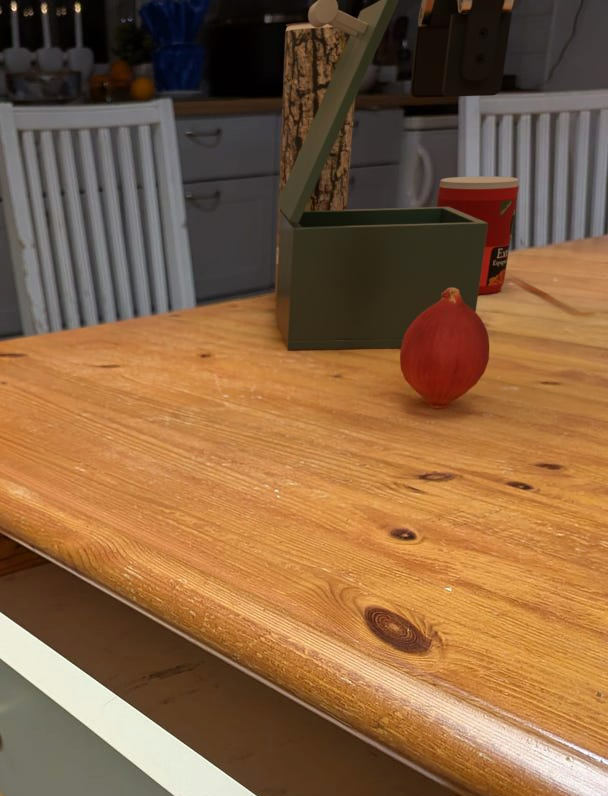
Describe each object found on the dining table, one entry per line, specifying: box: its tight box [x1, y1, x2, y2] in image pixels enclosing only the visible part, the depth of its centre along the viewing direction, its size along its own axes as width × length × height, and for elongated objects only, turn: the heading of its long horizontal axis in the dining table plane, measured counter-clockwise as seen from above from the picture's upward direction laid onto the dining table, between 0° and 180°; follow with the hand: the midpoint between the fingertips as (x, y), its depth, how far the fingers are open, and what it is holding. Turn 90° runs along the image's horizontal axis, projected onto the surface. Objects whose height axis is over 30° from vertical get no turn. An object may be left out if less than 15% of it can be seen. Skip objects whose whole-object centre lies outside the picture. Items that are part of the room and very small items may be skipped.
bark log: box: [274, 21, 356, 303], centre depth 95 cm, size 7×7×25 cm
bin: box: [275, 206, 488, 351], centre depth 86 cm, size 16×14×10 cm
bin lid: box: [276, 0, 399, 224], centre depth 80 cm, size 16×14×5 cm
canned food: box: [436, 175, 520, 296], centre depth 103 cm, size 8×8×11 cm
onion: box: [399, 288, 490, 409], centre depth 65 cm, size 6×6×8 cm
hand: (451, 96), depth 59 cm, fingers open, 9 cm apart
